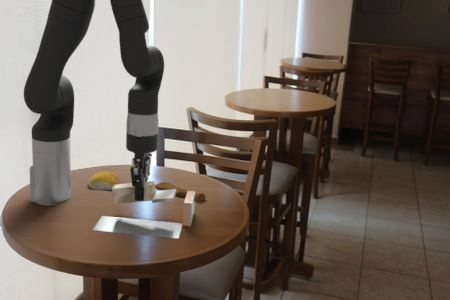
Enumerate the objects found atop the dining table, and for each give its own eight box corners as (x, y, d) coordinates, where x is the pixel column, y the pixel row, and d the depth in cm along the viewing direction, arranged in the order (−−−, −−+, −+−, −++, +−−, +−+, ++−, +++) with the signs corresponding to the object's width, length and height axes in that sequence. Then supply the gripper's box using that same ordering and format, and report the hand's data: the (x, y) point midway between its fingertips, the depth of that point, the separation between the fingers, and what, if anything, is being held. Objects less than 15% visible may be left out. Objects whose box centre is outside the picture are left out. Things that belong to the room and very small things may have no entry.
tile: (182, 229, 114) (183, 202, 112) (186, 215, 122) (187, 190, 120) (190, 230, 114) (192, 203, 112) (193, 216, 122) (195, 191, 120)
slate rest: (92, 234, 108) (92, 230, 107) (102, 219, 115) (102, 215, 115) (178, 242, 107) (178, 238, 107) (182, 227, 115) (182, 223, 115)
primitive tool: (150, 187, 140) (151, 176, 139) (163, 183, 144) (164, 172, 143) (198, 207, 129) (199, 196, 128) (211, 202, 133) (212, 191, 132)
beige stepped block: (113, 206, 114) (110, 191, 113) (119, 197, 120) (116, 182, 119) (173, 200, 113) (171, 185, 112) (176, 191, 119) (174, 177, 118)
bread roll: (120, 181, 142) (120, 168, 141) (114, 192, 133) (115, 179, 132) (92, 179, 142) (93, 167, 140) (85, 190, 133) (85, 177, 132)
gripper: (133, 123, 119) (132, 186, 123) (119, 136, 105) (118, 207, 110) (162, 125, 118) (160, 189, 123) (152, 139, 105) (150, 210, 110)
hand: (140, 197), depth 117 cm, fingers closed on beige stepped block, 3 cm apart
